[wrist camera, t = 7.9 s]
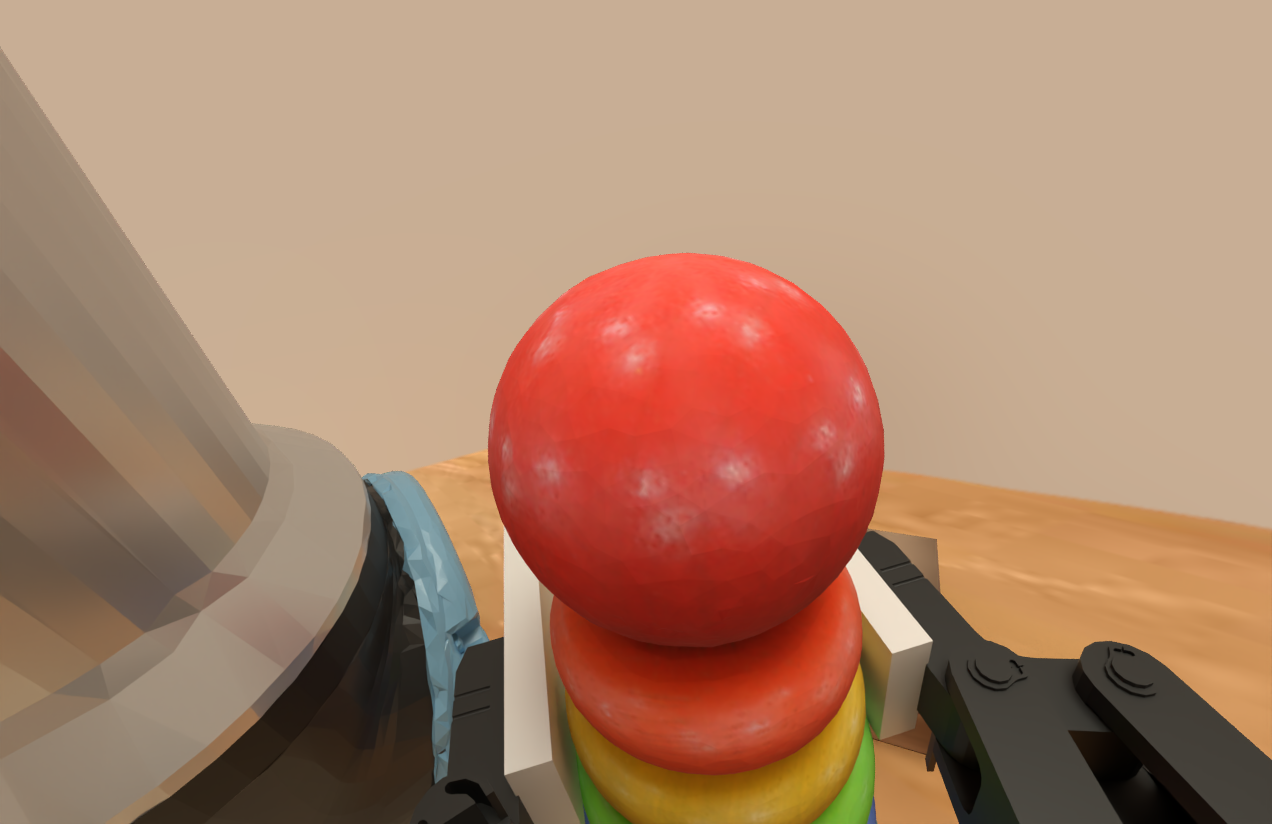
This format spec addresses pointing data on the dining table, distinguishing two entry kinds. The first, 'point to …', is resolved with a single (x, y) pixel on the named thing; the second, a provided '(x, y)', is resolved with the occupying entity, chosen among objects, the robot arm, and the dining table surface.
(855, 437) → the stacking toy
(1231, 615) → the dining table surface
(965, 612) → the dining table surface
